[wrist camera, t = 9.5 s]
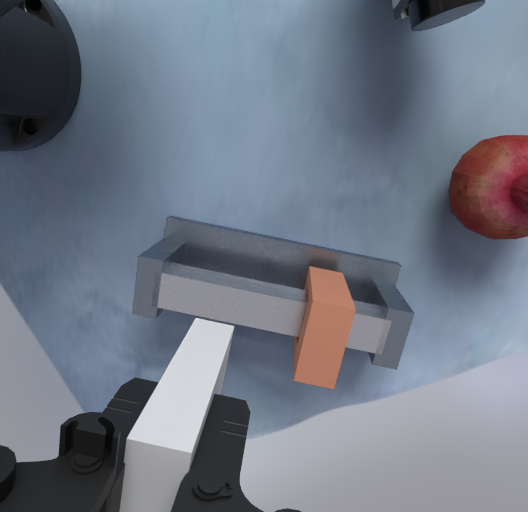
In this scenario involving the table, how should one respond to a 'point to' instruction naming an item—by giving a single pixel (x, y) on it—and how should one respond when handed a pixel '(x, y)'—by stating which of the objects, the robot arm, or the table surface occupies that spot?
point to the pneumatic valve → (433, 11)
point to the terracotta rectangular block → (323, 328)
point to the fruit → (493, 188)
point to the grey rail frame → (267, 284)
